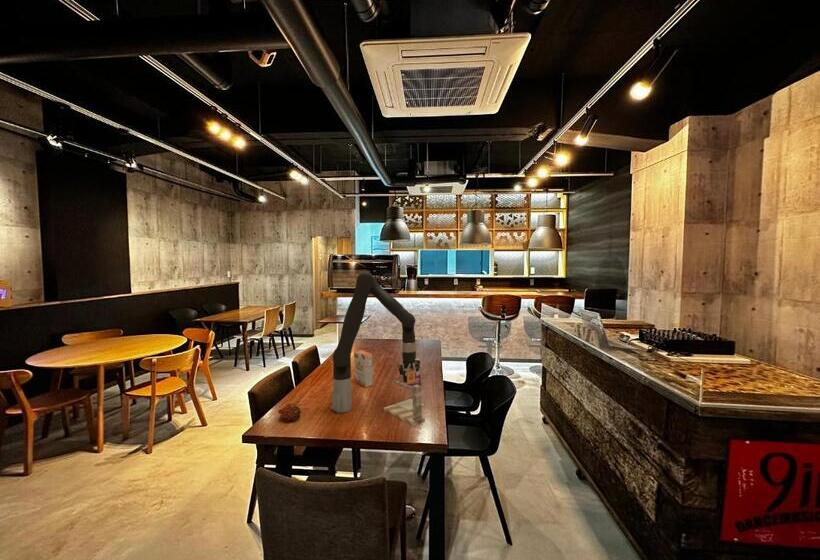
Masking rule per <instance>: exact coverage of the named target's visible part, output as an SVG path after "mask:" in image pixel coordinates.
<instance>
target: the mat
mask: <svg viewBox="0 0 820 560" xmlns="http://www.w3.org/2000/svg"><path fill="white" fill-rule="evenodd" d="M395 405H397V406H399V407H402V408H404V409H406V410H408V411H410V412H412V411H413V398H409V399H406V400H403V401H400V402H397V403H395ZM424 406H425V404H424V403H422V407H424Z"/></svg>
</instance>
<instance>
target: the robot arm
mask: <svg viewBox="0 0 820 560" xmlns="http://www.w3.org/2000/svg"><path fill="white" fill-rule="evenodd" d="M354 288H355V289H354V291H353V292H354V293H353V295H352V297H351V299H350V303H349V305H348V307H347V309H346V313H345V315H344V317H343V318H344V320H343V322H342V325H341V326H342V327H341V331H340V332H341V333H340V336H339V337H340V338H339V340H338V341H339V342H338V344H337V346H336V348H335V349H334V350H333V354H332V363H333V364H332V365H333V370H332V371H333V372H332V376H333V378H332V380H333V391H332V392H331V403H332V405H331V406H332V411H334V412H335V413H336V414H341V413H347V412H350V411H351V410H352V365H351V362H352V361H351V359H352V358H351V355H352V350H353V346H354V342H355V341H356V338H357V335H358V334H359V331H360V329H361V328H360V327H361V325H362V322H363V319H364V316H365V311H366V307H367V306H366V305H367V302H368V297H369V295H370V294H371V295H373V297H374V298H376V299H377V300H378V302H379V303H380V304H381V305H382V306H383V307H384V308H385V309H386V310H387V311H389V313H390V314H392V315H393V316H394V317H395V318H396V319H397V320H398V321H399V322H400V323H401V328H402V335H401V336H402V338H401V339H402V340H401V341H402V345H401V358H402V359H401V360H403V362H402V361H401V363H398V364H397V367H398V372H399V375H400V376H402V375H403V377H402V382H403V381H404V382H405V383H406V382H407V376H406V375H407V372H408V371H409V369H412V370H415V379H416V372H417V371H419V365H420V366H421V360H420V359H419V360H415V359H416V358H417V347H416V346H417V344H416V332H415V324H416V317H415V315H413V314H412V313H410V312H409V311H408V310H407V309H406V308H405V307H404V306H403V304H402V303H400V302H399V301H398V300H397V299H396V298H394V297H393V296H392V294H390V293H389V292H387V290H385V289H384V288H383V287H382V286H381V285H380V284H379V283H378V282H377V280H376V279H375V277H374V275H373V274H372V273H371V272H369V271H368V272H367V271H362V272H361V273H359V274H358V275H357V278H356V282H355V287H354ZM403 366H404V367H403ZM405 368H406V369H405Z"/></svg>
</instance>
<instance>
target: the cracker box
mask: <svg viewBox="0 0 820 560" xmlns="http://www.w3.org/2000/svg"><path fill="white" fill-rule="evenodd" d="M353 355H354V356H353V357H354V358H353V359H354V383H356V382H357V383H356V384H358V385H360V386H361V385H362V387H363V388H365V387H366V388H370V387H373V385H374V383H373V382H374V381H373V378H374V377H373V373H374V372H373V354H372V353H371V352H367V351H365V350H363V349H359V350H355V351H353ZM369 386H370V387H369Z"/></svg>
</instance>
